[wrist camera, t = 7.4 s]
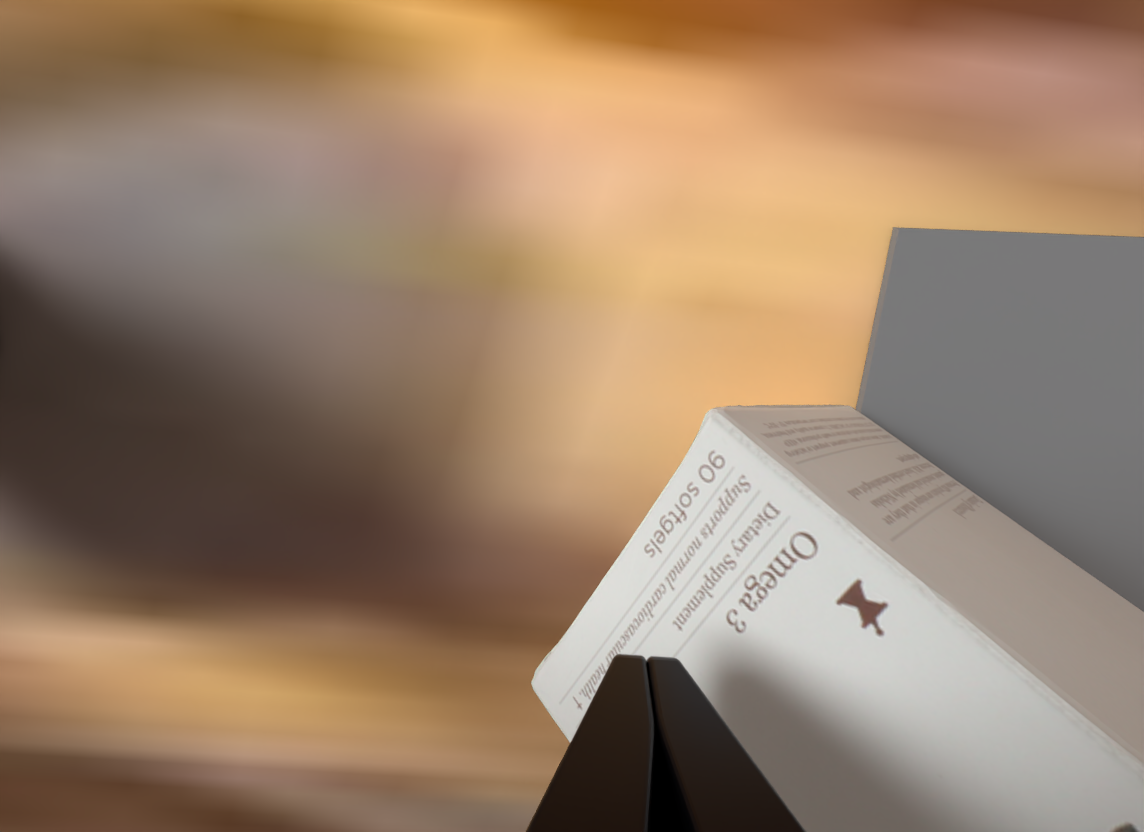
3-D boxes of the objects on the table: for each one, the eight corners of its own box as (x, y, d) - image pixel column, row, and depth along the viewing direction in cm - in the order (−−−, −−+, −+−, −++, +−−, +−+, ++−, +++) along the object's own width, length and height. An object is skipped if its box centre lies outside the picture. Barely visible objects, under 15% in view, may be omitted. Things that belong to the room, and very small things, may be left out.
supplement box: (704, 393, 10) (2435, 1777, 3) (848, 398, 15) (1586, 908, 9) (512, 687, 13) (1225, 1727, 6) (692, 600, 18) (1163, 1096, 12)
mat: (813, 615, 18) (816, 622, 18) (893, 227, 14) (898, 227, 14) (1299, 642, 18) (1310, 649, 18) (1511, 251, 14) (1530, 252, 14)
